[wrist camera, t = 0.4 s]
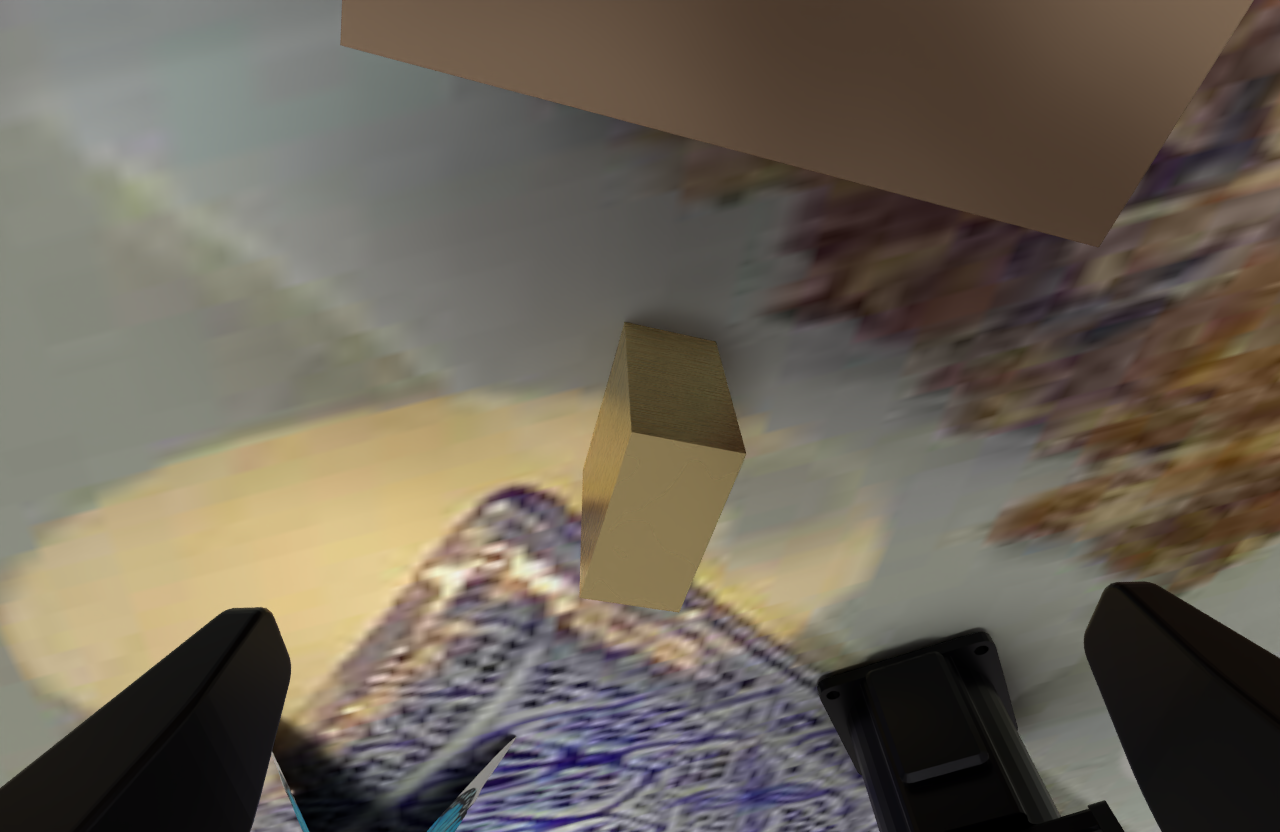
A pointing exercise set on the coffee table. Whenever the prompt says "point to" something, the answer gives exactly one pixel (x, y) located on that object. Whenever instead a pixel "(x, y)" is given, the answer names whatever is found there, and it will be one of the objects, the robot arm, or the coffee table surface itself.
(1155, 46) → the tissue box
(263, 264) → the coffee table surface
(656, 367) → the wooden plank piece
